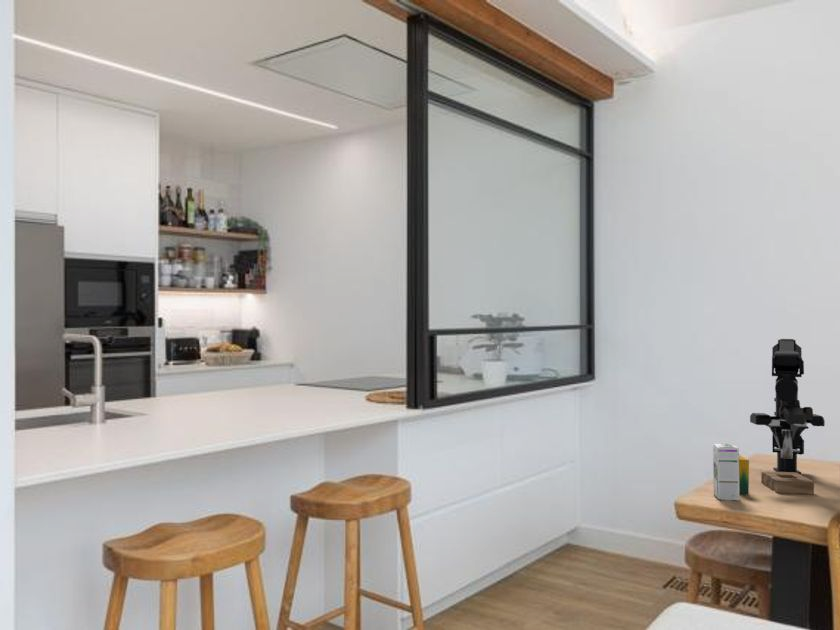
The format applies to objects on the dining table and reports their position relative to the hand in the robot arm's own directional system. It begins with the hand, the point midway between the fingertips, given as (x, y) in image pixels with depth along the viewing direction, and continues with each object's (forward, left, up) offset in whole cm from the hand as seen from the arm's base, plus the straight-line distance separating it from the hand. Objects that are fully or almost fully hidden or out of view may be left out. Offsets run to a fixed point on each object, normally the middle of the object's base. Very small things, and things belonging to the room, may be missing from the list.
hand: (786, 449), depth 203 cm
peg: (0, 0, -2) cm, 2 cm away
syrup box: (+14, -21, -12) cm, 28 cm away
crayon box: (+6, -15, -12) cm, 20 cm away
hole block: (0, 0, -11) cm, 11 cm away
